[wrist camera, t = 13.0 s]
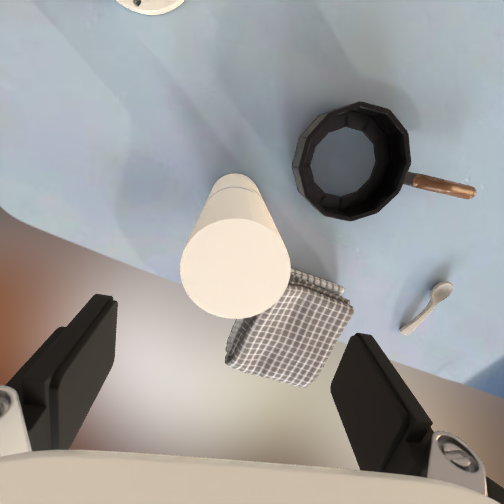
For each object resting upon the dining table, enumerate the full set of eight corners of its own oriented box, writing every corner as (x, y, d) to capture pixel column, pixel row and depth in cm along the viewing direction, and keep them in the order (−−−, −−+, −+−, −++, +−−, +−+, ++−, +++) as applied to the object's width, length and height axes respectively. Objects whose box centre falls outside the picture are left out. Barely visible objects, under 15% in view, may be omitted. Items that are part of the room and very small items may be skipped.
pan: (309, 95, 38) (319, 90, 33) (478, 140, 41) (505, 140, 37) (282, 201, 42) (287, 208, 38) (434, 233, 46) (454, 243, 42)
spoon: (452, 282, 49) (460, 289, 47) (406, 332, 53) (411, 339, 52) (439, 275, 48) (446, 281, 47) (393, 326, 53) (398, 333, 51)
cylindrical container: (218, 166, 40) (195, 203, 17) (266, 182, 41) (307, 237, 18) (204, 214, 42) (169, 304, 19) (250, 228, 44) (269, 329, 20)
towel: (222, 342, 51) (220, 376, 44) (264, 253, 45) (270, 275, 38) (298, 365, 54) (308, 401, 47) (347, 284, 48) (367, 310, 41)
